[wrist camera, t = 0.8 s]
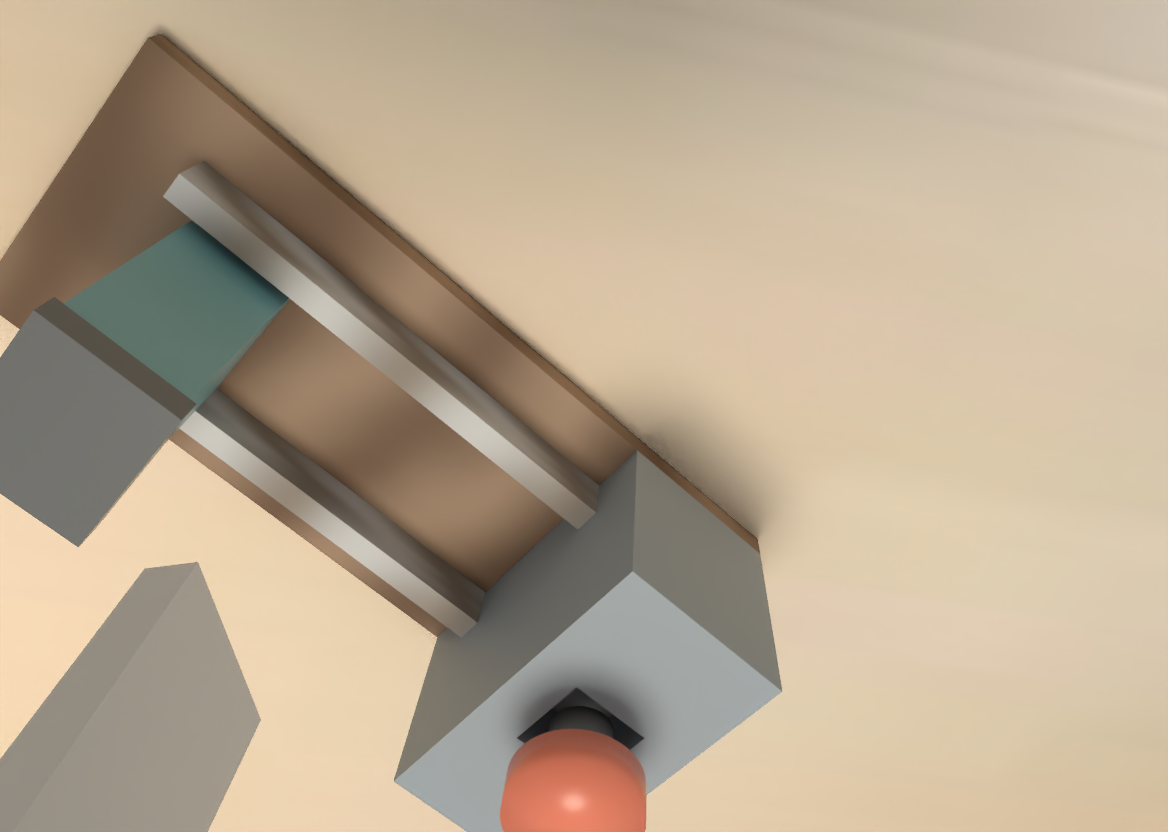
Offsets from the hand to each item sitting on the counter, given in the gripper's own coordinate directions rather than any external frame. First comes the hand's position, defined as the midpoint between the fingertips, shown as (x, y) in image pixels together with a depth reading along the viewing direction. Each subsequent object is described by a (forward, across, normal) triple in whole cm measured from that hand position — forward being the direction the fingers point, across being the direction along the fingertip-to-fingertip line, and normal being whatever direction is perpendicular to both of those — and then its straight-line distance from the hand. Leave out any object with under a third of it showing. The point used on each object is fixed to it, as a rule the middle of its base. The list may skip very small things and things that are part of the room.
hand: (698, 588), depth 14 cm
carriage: (+23, -17, -2) cm, 28 cm away
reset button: (+15, -5, -16) cm, 23 cm away
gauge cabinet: (+24, -5, -16) cm, 30 cm away
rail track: (+24, -12, -8) cm, 28 cm away
